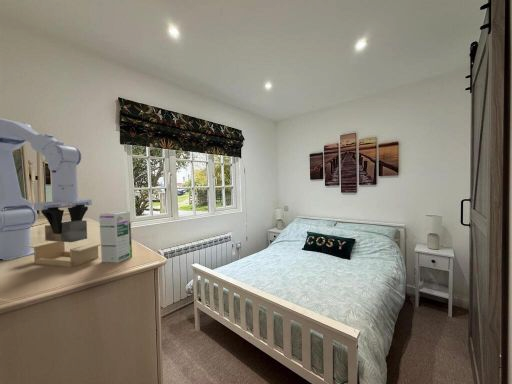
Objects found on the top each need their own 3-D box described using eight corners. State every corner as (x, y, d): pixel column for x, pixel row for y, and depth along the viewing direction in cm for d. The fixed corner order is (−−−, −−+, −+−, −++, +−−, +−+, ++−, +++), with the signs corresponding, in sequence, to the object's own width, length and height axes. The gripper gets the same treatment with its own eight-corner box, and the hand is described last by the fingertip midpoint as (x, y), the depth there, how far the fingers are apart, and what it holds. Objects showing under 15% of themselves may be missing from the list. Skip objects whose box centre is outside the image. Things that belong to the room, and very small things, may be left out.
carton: (27, 262, 64) (26, 246, 64) (56, 254, 72) (55, 239, 72) (80, 268, 60) (80, 250, 59) (106, 258, 67) (105, 242, 67)
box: (45, 240, 64) (44, 222, 64) (62, 237, 69) (61, 219, 69) (71, 242, 62) (70, 223, 62) (87, 238, 66) (86, 220, 66)
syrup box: (117, 263, 63) (115, 213, 62) (100, 262, 64) (98, 213, 64) (132, 257, 68) (131, 211, 68) (116, 256, 70) (115, 210, 69)
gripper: (46, 186, 57) (48, 238, 57) (98, 185, 71) (100, 227, 71) (26, 186, 58) (29, 236, 59) (81, 186, 73) (83, 226, 73)
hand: (66, 231), depth 65 cm, fingers closed on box, 4 cm apart
